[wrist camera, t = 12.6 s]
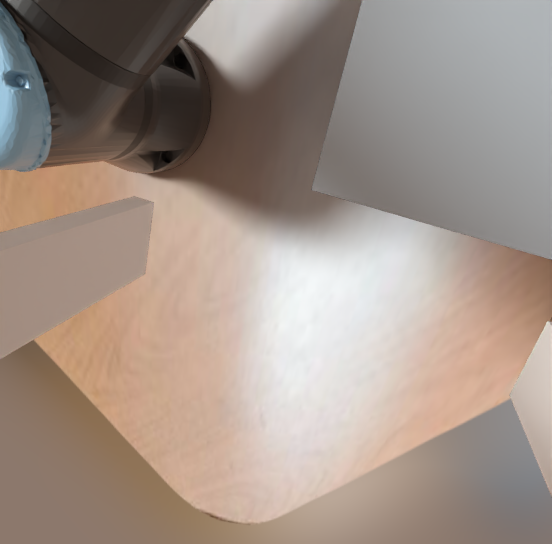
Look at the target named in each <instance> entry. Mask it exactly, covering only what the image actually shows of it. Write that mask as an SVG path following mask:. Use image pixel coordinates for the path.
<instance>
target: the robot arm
mask: <svg viewBox="0 0 552 544" xmlns="http://www.w3.org/2000/svg"><path fill="white" fill-rule="evenodd" d="M212 1H213V0H0V170H17V171H20V172H28V171H32V170H36V168H45V167H53V166H62V165H71V164H80V163H90V162H99V161H105V162H107V163H110V164H112V165H114V166H117V167H119V168H121V169H124V170H127V171H131V172H136V173H154V172H160V171H166V170H169V169H172V168H174V167H176V166H178V165H180V164H182V163H183V162H185V161H186V160H187V159H188V158H189V157H190V156H191V155H192V154H193V153H194V152H195V151H196V149H197V148H198V146H199V145H200V143H201V141H202V139H203V137H204V135H205V132H206V130H207V126H208V122H209V117H210V107H211V100H210V90H209V84H208V80H207V77H206V74H205V71H204V69H203V66H202V64H201V62H200V60H199V58H198V57H197V55H196V54H195V52H194V51H193V49H192V48H191V47H190V46H189V45H188V44H187V43H186V42H185V41H184V40H183V39H182V38H183V37H184V35H185V34H186V33H187V32H188V30H189V29H190V28H191V27H192V26H193V24H194V23H195V22H196V21H197V19H198V18H199V17H200V16H201V14H202V13H203V12H204V11H205V10H206V8H207V7H208V6H209V5H210V3H211V2H212ZM153 206H154V202H151V201H148V200H145V199H141V198H138V197H135V196H134V197H131V198H127V199H123V200H119V201H116V202H112V203H108V204H105V205H101V206H97V207H93V208H90V209H86V210H82V211H79V212H75V213H71V214H67V215H64V216H60V217H56V218H53V219H49V220H45V221H41V222H38V223H34V224H30V225H27V226H23V227H19V228H16V229H12V230H8V231H4V232H1V233H0V359H1V358H3V357H5V356H6V355H8V354H10V353H11V352H13V351H14V350H17V349H18V348H20V347H22V346H23V345H25V344H27V343H28V342H30V341H32V340H34V339H35V338H37V337H39V336H40V335H42V334H44V333H45V332H47V331H49V330H51V329H52V328H54V327H56V326H57V325H59V324H61V323H63V322H64V321H66V320H68V319H69V318H71V317H73V316H74V315H76V314H78V313H80V312H81V311H83V310H85V309H86V308H88V307H90V306H91V305H93V304H95V303H97V302H98V301H100V300H102V299H103V298H105V297H107V296H108V295H110V294H112V293H114V292H115V291H117V290H119V289H120V288H122V287H124V286H125V285H127V284H129V283H131V282H132V281H134V280H136V279H137V278H139V277H141V276H143V275H144V274H145V271H146V263H147V255H148V247H149V239H150V231H151V223H152V214H153ZM510 397H511V400H512V402H513V405H514V406H515V409H516V412H517V414H518V417H519V419H520V422H521V424H522V426H523V429H524V431H525V434H526V436H527V438H528V441H529V443H530V446H531V448H532V451H533V453H534V455H535V458H536V460H537V463H538V465H539V468H540V470H541V472H542V475H543V477H544V479H545V482H546V484H547V487H548V489H549V492H550V494H551V496H552V322H550V321H547V323H546V325H545V327H544V329H543V331H542V333H541V335H540V337H539V339H538V341H537V342H536V344H535V346H534V348H533V350H532V352H531V354H530V356H529V358H528V360H527V362H526V364H525V366H524V368H523V370H522V371H521V373H520V375H519V377H518V379H517V381H516V383H515V385H514V387H513V389H512V391H511V393H510Z"/></svg>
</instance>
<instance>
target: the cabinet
mask: <svg viewBox="0 0 552 544" xmlns="http://www.w3.org/2000/svg"><path fill="white" fill-rule="evenodd" d="M311 190H313V191H316V192H320V193H323V194H327V195H330V196H334V197H337V198H340V199H344V200H347V201H351V202H354V203H358V204H361V205H365V206H368V207H371V208H375V209H378V210H382V211H385V212H389V213H392V214H396V215H399V216H402V217H406V218H409V219H413V220H416V221H420V222H423V223H427V224H430V225H433V226H437V227H440V228H444V229H447V230H451V231H454V232H457V233H461V234H464V235H468V236H471V237H475V238H478V239H482V240H485V241H488V242H492V243H495V244H499V245H502V246H506V247H509V248H513V249H516V250H519V251H523V252H526V253H530V254H533V255H537V256H540V257H543V258H547V259H550V260H552V0H362V2H361V6H360V10H359V14H358V17H357V21H356V25H355V28H354V32H353V36H352V40H351V43H350V47H349V51H348V55H347V58H346V62H345V66H344V69H343V73H342V77H341V81H340V84H339V88H338V92H337V96H336V99H335V103H334V107H333V110H332V114H331V118H330V122H329V125H328V129H327V133H326V137H325V140H324V144H323V148H322V151H321V155H320V159H319V163H318V166H317V170H316V174H315V177H314V181H313V185H312V189H311Z"/></svg>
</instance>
